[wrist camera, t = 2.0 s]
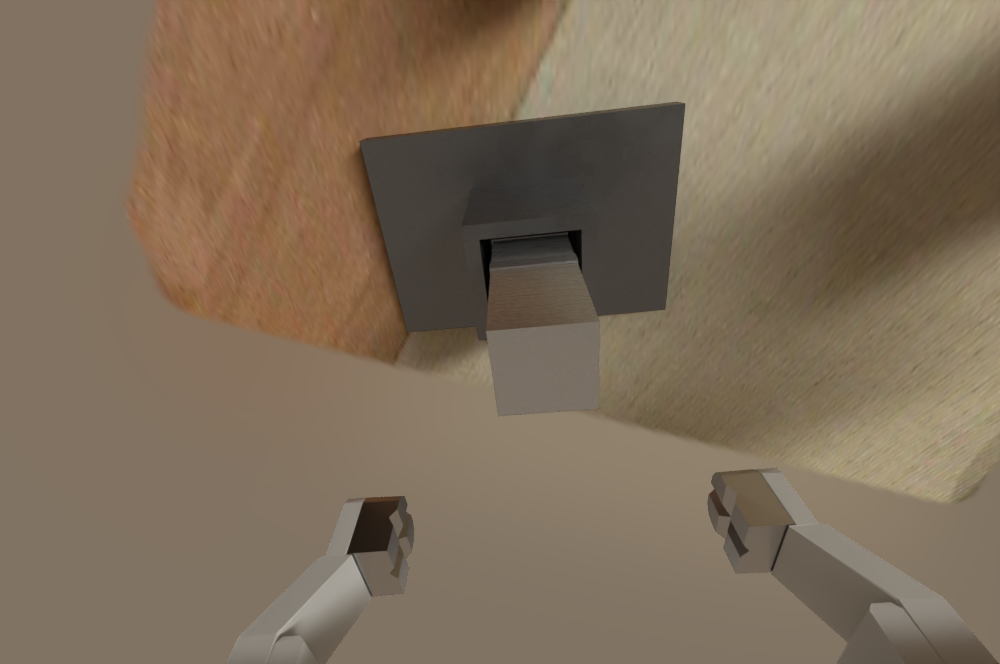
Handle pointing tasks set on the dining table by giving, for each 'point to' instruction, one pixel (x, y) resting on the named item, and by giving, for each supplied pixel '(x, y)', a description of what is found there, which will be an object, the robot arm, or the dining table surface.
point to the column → (541, 327)
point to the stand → (528, 206)
